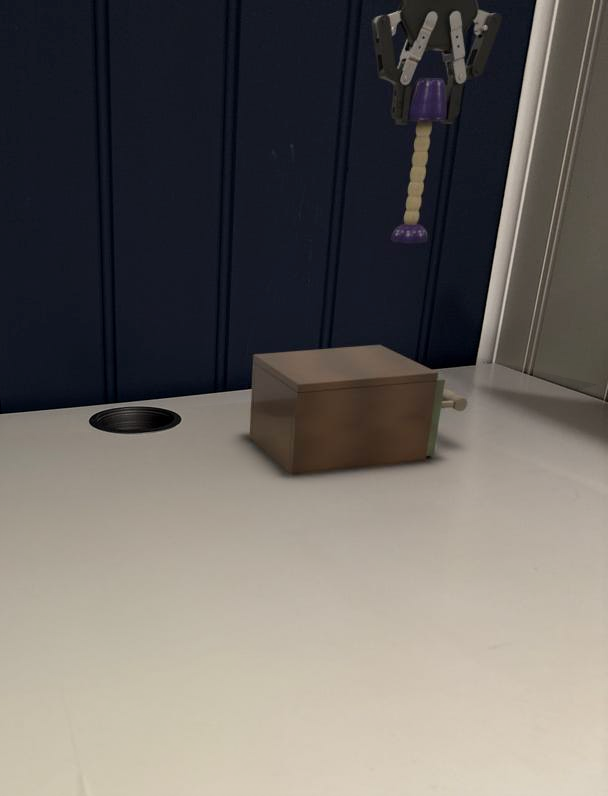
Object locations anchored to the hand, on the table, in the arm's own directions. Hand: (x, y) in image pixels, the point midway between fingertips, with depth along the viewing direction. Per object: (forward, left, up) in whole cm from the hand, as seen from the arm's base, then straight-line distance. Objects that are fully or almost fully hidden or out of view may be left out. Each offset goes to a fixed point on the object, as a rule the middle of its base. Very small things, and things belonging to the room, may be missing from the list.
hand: (424, 122), depth 104 cm
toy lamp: (0, 0, -13) cm, 13 cm away
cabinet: (+14, +22, -30) cm, 40 cm away
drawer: (+11, +22, -29) cm, 38 cm away
